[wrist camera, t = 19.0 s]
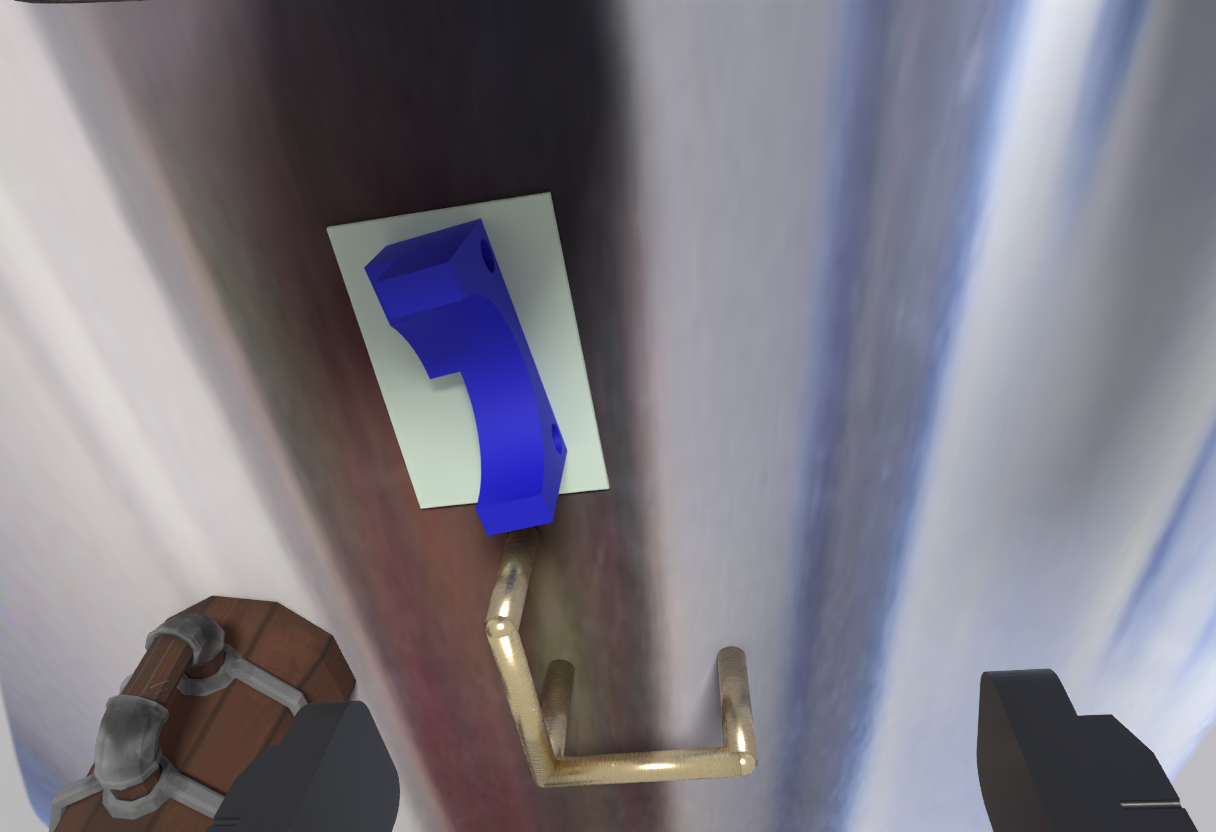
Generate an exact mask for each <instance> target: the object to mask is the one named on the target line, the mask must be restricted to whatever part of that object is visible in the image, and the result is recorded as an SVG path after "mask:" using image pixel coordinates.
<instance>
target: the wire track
mask: <svg viewBox="0 0 1216 832" xmlns="http://www.w3.org/2000/svg"><path fill="white" fill-rule="evenodd" d="M539 536H540V534H539V531H538V529H537V528H536V527H535V526H533V527H528V528H524V529H519V530H514V531H510V532H509V536H508V540H507V543H506V547H505V550H504V554H503V557H502V561H501V565H500V568H499V572H498V575H497V579H496V582H495V586H494V590H493V593H492V597H491V600H490V604H489V607H488V611H487V615H486V618H485V622H484V629H485V631H486V633H487V636H488V640H489V643H490V646H491V649H492V652H493V655H494V658H495V662H496V665H497V668H498V671H499V674H500V677H501V680H502V683H503V687H504V690H505V693H506V696H507V699H508V702H509V705H510V709H511V712H512V715H513V718H514V721H515V724H516V727H517V731H518V734H519V737H520V740H521V743H522V746H523V749H524V752H525V756H526V759H527V762H528V765H529V768H530V774H531V776H532V778H533V780H534V782H535V783H536V784H537V785H538V786H540V787H544V788H547V787H565V786H583V785H601V784H619V783H637V782H655V781H674V780H692V779H710V778H728V777H744V776H747V775H749V774H751V773H752V771H753V770H754V768H755V766H756V765H757V753H756V744H755V735H754V726H753V717H752V709H751V700H750V691H749V682H748V674H747V665H746V656H745V653H744V652H743V650H741V649H740V648H737V647H726V648H723V649H722V650H721V651H720V652H719V653H718V656H717V659H718V673H719V686H720V700H721V714H722V727H723V741H724V747H717V748H700V749H684V750H667V751H651V752H634V753H618V754H601V755H585V756H568V757H563V756H564V748H565V740H566V733H567V725H568V718H569V710H570V702H571V695H572V687H573V680H574V672H575V669H574V667H573V665H572V664H571V663H569V662H567V661H565V660H555V661H553V662H551V663H550V664H549V665H548V669H547V675H546V681H545V687H544V693H543V698H542V704H541V706H540V703H539V700H538V696H537V693H536V689H535V686H534V682H533V679H532V676H531V672H530V669H529V665H528V662H527V659H526V655H525V652H524V648H523V645H522V642H521V638H520V635H519V631H518V630H519V626H520V621H521V617H522V612H523V608H524V603H525V599H526V594H527V590H528V586H529V581H530V577H531V572H532V568H533V563H534V559H535V554H536V550H537V546H538V541H539Z"/></svg>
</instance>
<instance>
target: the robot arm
mask: <svg viewBox="0 0 1216 832" xmlns="http://www.w3.org/2000/svg"><path fill="white" fill-rule="evenodd" d="M977 768H978V775H979V781H980V787H981V792H982V796H983V800H984V804H985V807H986V810H987V813H988V816H989V819H990V822H991V825H992V828H993V831H994V832H1198V831H1197V829H1196V827H1195V825H1194V824H1193V822H1192V820H1191V818H1190V817H1189V815H1188V813H1187V811H1186V809H1185V808H1182V807H1181V805H1180V799H1179V797H1178V795H1177V793H1176V792H1175V790H1174V788H1173V786H1172V785H1171V783H1170V781H1169V779H1168V778H1167V776H1166V774H1165V772H1164V770H1163V769H1162V767H1161V765H1160V763H1159V762H1158V760H1157V758H1156V756H1155V755H1154V753H1153V752H1152V751H1151V750H1150V749H1149V748H1148V747H1147V746H1145V745H1144V744H1143V743H1142V742H1141V741H1140V740H1139V739H1138V738H1137V737H1136V736H1134V735H1133V734H1132V733H1131V732H1130V731H1129V730H1128V729H1127V728H1126V727H1125V726H1124V725H1122V724H1121V723H1120V722H1119V721H1118V720H1117V719H1116V718H1115V717H1114V716H1113V715H1111V714H1110V715H1085V716H1077V714H1076V711H1075V709H1074V707H1073V705H1072V703H1071V701H1070V699H1069V697H1068V695H1067V693H1066V691H1065V689H1064V687H1063V685H1062V683H1061V681H1060V680H1059V678H1058V676H1057V675H1056V674H1055V672H1054V671H1053V670H1051V669H1031V670H1011V671H991V672H984V673H983V674H982V676H981V683H980V701H979V719H978V738H977ZM399 799H400V785H399V778H398V773H397V770H396V768H395V766H394V764H393V761H392V759H391V757H390V755H389V753H388V750H387V748H386V746H385V744H384V742H383V740H382V737H381V735H380V733H379V731H378V729H377V726H376V724H375V722H374V720H373V718H372V716H371V713H370V711H369V709H368V707H367V706H366V705H365V704H364V703H363V702H362V701H341V702H321V703H308V704H306V705H304V706H303V707H301V708H300V710H299V711H298V712H297V713H296V715H295V717H294V719H293V720H292V722H291V724H290V726H289V728H288V730H287V732H286V734H285V735H284V737H283V739H282V741H281V743H280V745H273V746H267V747H266V748H265V749H264V750H263V751H262V752H261V753H260V754H259V755H258V756H257V757H256V758H255V759H254V760H253V761H252V762H251V763H250V764H249V765H248V766H247V767H246V768H245V770H244V771H243V772H242V773H241V774H240V775H239V776H238V777H237V778H236V779H235V780H234V782H233V784H232V785H231V787H230V789H229V791H228V793H227V794H226V796H225V798H224V800H223V801H222V803H221V805H220V807H219V808H218V810H217V812H216V814H215V816H214V817H213V820H214V821H213V825H212V826H208V828H207V830H206V831H205V832H392V829H393V826H394V824H395V820H396V817H397V813H398V808H399Z"/></svg>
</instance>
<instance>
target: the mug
mask: <svg viewBox="0 0 1216 832" xmlns="http://www.w3.org/2000/svg"><path fill="white" fill-rule="evenodd" d="M145 648H146V650H147V652H146V654H145V655H144V657H143V658H142V660H141V662H140V663H139V665H138V667H137V668H136V670H135V672H134V673H133V674H131V675H129V676H127V677H126V678H125V680H124V681H123V683H122V684H121V687H120V693H119V695H118V696H114V697H111V698H109V700H108V702H107V704H106V708H107V709H106V712H105V714H104V716H103V718H102V720H101V724H100V728H99V732H98V735H97V739H96V747H95V756H94V764H93V766H92V767H91V769H90V771H89V773H88V775H87V776H86V777H85V778H83V779H81V780H79V781H76V782H74V783H72V784H70V785H68V786H66V787H63V788H61V789H60V790H59V792H58V793H57V794H56V796H55V797H54V799H53V802H52V811H51V819H50V827H49V832H205V831H206V830H207V828H208V826H212V825H213V821H214V820H213V817H214V816H215V814H216V812H217V810H218V808H219V807H220V805H221V803H222V801H223V800H224V798H225V796H226V794H227V793H228V791H229V789H230V787H231V785H232V784H233V782H234V780H235V779H236V778H237V777H238V776H239V775H240V774H241V773H242V772H243V771H244V770H245V768H246V767H247V766H248V765H249V764H250V763H251V762H252V761H253V760H254V759H255V758H256V757H257V756H258V755H259V754H260V753H261V752H262V751H263V750H264V749H265V748H266V747H267V746H273V745H280V743H281V741H282V739H283V737H284V735H285V734H286V732H287V730H288V728H289V726H290V724H291V722H292V720H293V719H294V717H295V715H296V713H297V712H298V711H299V710H300V708H301V707H303V706H304V705H306V704H308V703H321V702H341V701H348V700H349V697H350V695H351V692H352V689H353V686H354V684H355V681H356V680H355V678H354V676H353V675H352V673H351V671H350V669H349V667H348V665H347V663H346V661H345V659H344V657H343V655H342V654H341V652H340V650H339V648H338V646H337V644H336V642H335V640H334V638H333V636H332V635H330V634H329V633H327V632H325V631H324V630H322V629H320V628H319V627H317V626H315V625H314V624H312V623H310V622H309V621H307V620H305V619H304V618H302V617H301V616H299V615H297V614H296V613H294V612H292V611H291V610H289V609H287V608H286V607H284V606H282V605H281V604H279V603H277V602H271V601H260V600H250V599H240V598H230V597H220V596H211V597H209V598H207V599H205V600H203V601H201V602H199V603H197V604H195V605H193V606H191V607H190V608H188V609H186V610H184V611H182V612H180V613H178V614H176V615H174V616H172V617H170V618H168V619H167V620H166V621H165V622H164V623H163V624H161V625H160V626H159V627H158V628H157V629H156V630H154V631H152V632H150V633H149V635H148V636H147V640H146V646H145Z"/></svg>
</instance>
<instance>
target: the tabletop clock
mask: <svg viewBox="0 0 1216 832" xmlns="http://www.w3.org/2000/svg"><path fill="white" fill-rule="evenodd" d="M14 1H22V2H29V3H93V2H119V1H142V0H14Z"/></svg>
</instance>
